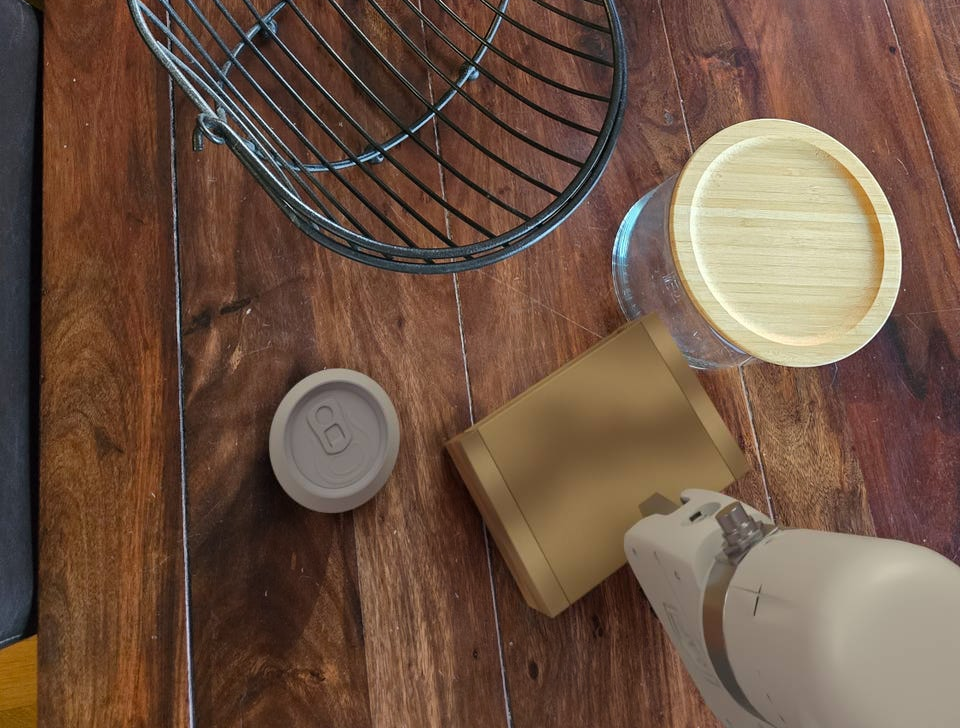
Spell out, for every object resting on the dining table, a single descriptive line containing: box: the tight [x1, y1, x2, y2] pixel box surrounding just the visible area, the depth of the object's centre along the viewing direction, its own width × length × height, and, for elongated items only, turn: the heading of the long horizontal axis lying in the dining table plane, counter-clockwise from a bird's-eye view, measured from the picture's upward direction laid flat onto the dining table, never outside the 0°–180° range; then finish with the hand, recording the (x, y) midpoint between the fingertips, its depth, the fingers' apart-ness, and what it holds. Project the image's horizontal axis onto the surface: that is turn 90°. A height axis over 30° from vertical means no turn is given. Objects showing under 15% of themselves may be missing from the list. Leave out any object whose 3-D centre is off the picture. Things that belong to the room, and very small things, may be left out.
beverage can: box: [268, 368, 401, 514], centre depth 65 cm, size 7×7×12 cm
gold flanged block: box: [444, 309, 753, 619], centre depth 68 cm, size 10×14×7 cm
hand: (667, 586), depth 66 cm, fingers closed
